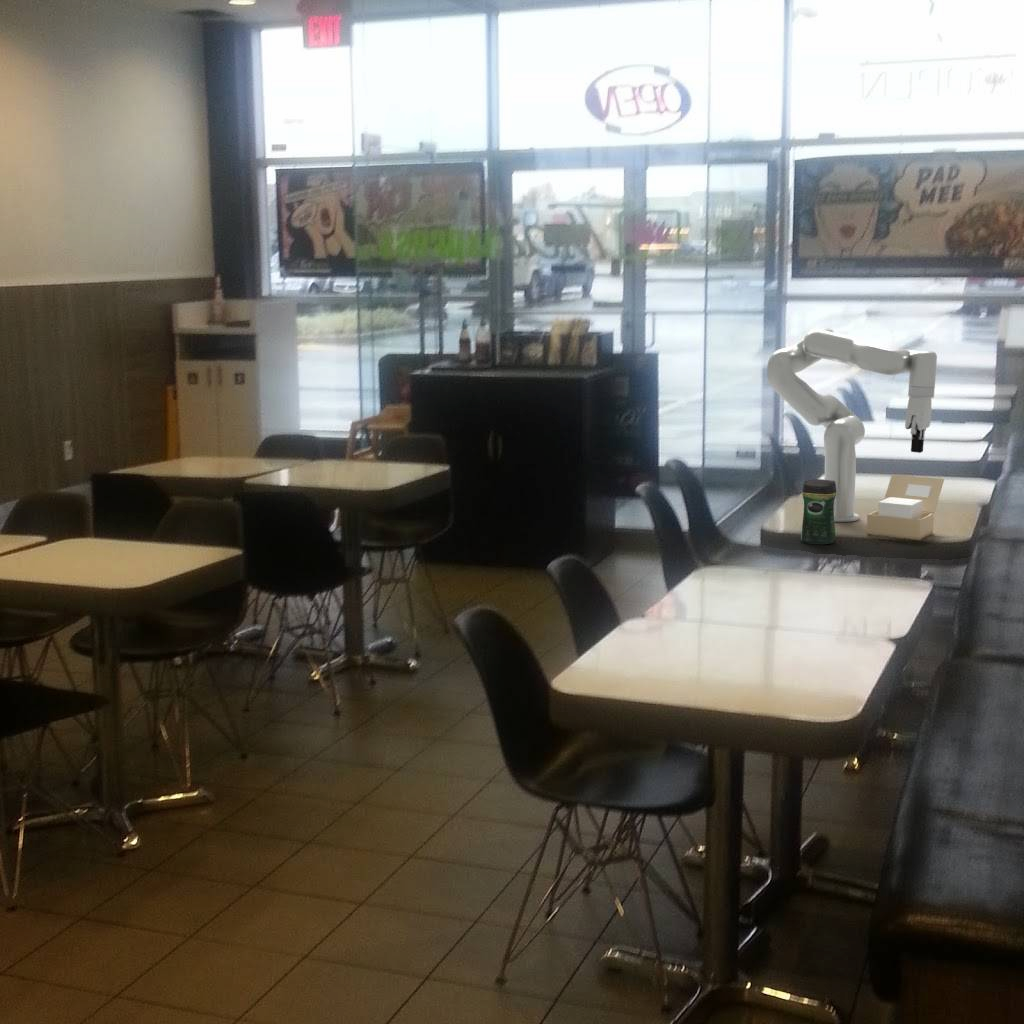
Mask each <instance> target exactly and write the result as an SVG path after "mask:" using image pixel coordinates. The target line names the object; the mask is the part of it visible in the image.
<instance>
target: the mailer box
mask: <svg viewBox="0 0 1024 1024" xmlns="http://www.w3.org/2000/svg"><path fill="white" fill-rule="evenodd" d="M922 503H923V500H915V499H904V498H894V497H889V498H887V499H884V498H883V500H880V501H878V507H877V510H875V511H872V512H870V513H868V514H867V516H866V517H867V520H866V521H867V522H866V523H867V524H866V535H869V534H874V535H873V536H878V535H881V536H880V537H886V536H889V537H888V538H895V537H896V538H897V539H904V538H905V540H914V541H921V540H922V538H923V539H925V538H926V536H927V537H928V536H930V535H933V533H934V517H935V516H934V515H935V513H924V512H922ZM924 537H925V538H924Z"/></svg>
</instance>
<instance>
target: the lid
mask: <svg viewBox="0 0 1024 1024" xmlns="http://www.w3.org/2000/svg"><path fill="white" fill-rule="evenodd" d="M944 481H945V479H944V478H939V477H926V476H918V475H917V476H915V475H905V474H893V473H892V474H891V476H890V480H889V483H888V485H887V489H886V493H885V495H884V498H883V500H884V499H887V498H889V497H894V498H904V499H915V500H923V503H922V512H924V513H934V514H935V512H936V508H937V506H938V503H939V502H938V501H939V499H940V496H941V492H942V489H943V486H944Z"/></svg>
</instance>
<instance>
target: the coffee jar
mask: <svg viewBox="0 0 1024 1024" xmlns="http://www.w3.org/2000/svg"><path fill="white" fill-rule="evenodd" d="M836 494H837V492H836V483H835V481H832V480H824V479H821V478H820V479H819V478H809V479H806V480H804V481H803V485H802V491H801V496H802V498H803V499H802V500H803V515H802V525H801V533H800V541H802V542H803V543H807V544H811V545H812V544H813V545H827V544H828V545H829V544H830V545H831V544H833V543H834V542H835V541H836V525H835V523H836V522H834V499H835V497H836Z"/></svg>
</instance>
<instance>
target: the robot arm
mask: <svg viewBox="0 0 1024 1024" xmlns="http://www.w3.org/2000/svg"><path fill="white" fill-rule="evenodd" d="M822 359H824V360H828V361H832V362H833V361H834V362H837V363H841V364H845V365H848V366H849V365H850V366H851V367H855V368H858V369H862V370H866V371H869V372H873V373H877V374H882V375H886V376H896V375H900V374H904V373H906V374H907V373H909V377H908V378H909V379H908V393H907V394H908V395H907V397H908V401H907V408H906V414H905V423H904V425H905V426H904V428H905V429H906V430H910V435H911V444H910V445H911V446H910V452H911V453H912V452H913V453H918V454H920V453H923V452H924V441H925V433H926V431H927V428H929V427H930V426H931V420H932V399H934V398H935V387H936V376H937V375H936V374H937V362H938V355H937V353H936V352H935V351H931V350H911V349H906V348H896V349H887V348H882V347H877V346H873V345H870V344H867V343H865V342H864V341H863V340H861V339H860V338H858V337H856V336H851V335H845V334H841V333H838V332H835V331H834V330H832V329H830V328H826V327H821V328H815V329H811V330H810V331H808V332H807V333H806V334H805V336H804V338H803V339H801V341H799V342H797V343H795V344H793V345H792V346H788V347H783V348H780V349H777V350H775V351H774V352H773V353H772V354H771V356H770V357H769V359H768V362H767V366H766V375H767V380H768V382H769V384H770V386H771V388H772V389H773V390H774V392H775V393H776V394H777V395H778V396H780V397H781V398H782V399H783V400H784V401H785V402H786V403H787V404H788V405H789V406H790V407H791V408H792V409H793V411H795V412H796V413H797V414H798V415H800V417H801V418H803V419H804V420H805V421H806V422H807V423H808V424H809V425H811V426H815V427H816V426H817V427H818V426H823V427H824V428H825V431H824V433H823V447H824V479H823V480H832V481H835V483H836V492H837V494H836V497H835V499H834V523H837V522H838V523H849V522H855V521H858V520H860V515H859V514H858V513H855V502H856V501H855V498H856V497H855V496H856V477H857V476H856V474H857V473H856V471H857V469H856V468H857V456H856V455H857V454H856V446H857V445H858V444H859V443H860V442H861V441H862V440H863V439H864V437H865V432H866V430H865V426H864V424H863V421H862V420H861V419H860V418H859V417H858V416H857V415H856V414H855V413H854V412H852V411H851V410H850V408H848V407H847V406H846V405H845V404H844V403H843V402H842V401H840V400H839V398H837V397H836V396H834V395H832V394H829V393H818V392H817V391H815V389H813V388H812V387H811V386H810V385H809V384H807V382H805V381H804V380H803V379H801V378H800V377H798V375H796V374H797V373H799V372H801V371H803V370H805V369H808V368H809V367H810V366H812V365H814V364H815V363H817V362H819V361H821V360H822Z"/></svg>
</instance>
